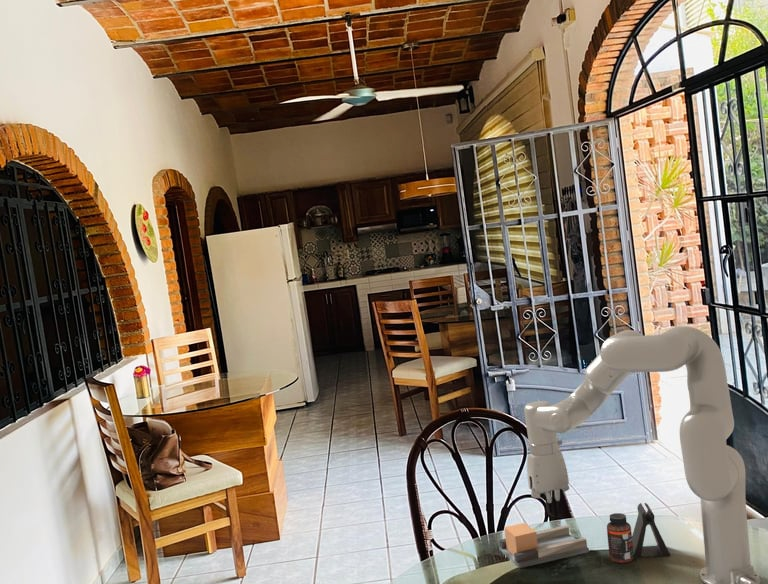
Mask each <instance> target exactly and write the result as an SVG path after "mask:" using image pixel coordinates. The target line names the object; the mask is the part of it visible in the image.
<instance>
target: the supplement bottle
mask: <svg viewBox="0 0 768 584" xmlns="http://www.w3.org/2000/svg"><path fill="white" fill-rule="evenodd" d="M606 534H607V545H608V546H607V547H608V555H609V559H610V560H611V561H613V562H614V563H618V564H627V563H630V562H632V561H633V560H634V559H635V558H634V556H633V555H634V554H633V543H632V535H633V532H632V527H631V524H630V523H629V522H627V515H626V514H624V513H618V512H615V513H611V514H609V522H608V523H607V524H606Z"/></svg>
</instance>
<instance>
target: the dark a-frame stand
mask: <svg viewBox="0 0 768 584" xmlns="http://www.w3.org/2000/svg"><path fill="white" fill-rule="evenodd" d="M644 506H645V508H646V509H647V511H646V509H645V508H644ZM647 526H649V527H650V530H651V532H652V535H653V537H654V539H655V543H656V545H647V546H644V540H645V536H646V530H647ZM632 543H633V554H634V555H633V556H634V558H633V559H646V558H647V559H648V558H665V557H667V558H668V557H671V554H670V551H669V549H668V547H667V546H666V544H665V541H664V539H663V536H662V535H661V533H660V531H659V528H658V526H657V525H656V523H655V514H654V512H653V511H652V509H651V507H650V506H649V504H648V503H646V502H644V505H643V504H642V502H641V503H639V504H637V517H636V522H635V525H634V528H633V532H632Z"/></svg>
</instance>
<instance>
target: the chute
mask: <svg viewBox="0 0 768 584" xmlns="http://www.w3.org/2000/svg"><path fill="white" fill-rule="evenodd" d="M536 535H537V545H538V548H535V549H531V550H526V551H522V552H518V553H514V555H513V554H512V553H511V552H510V551H508V550H507V548H506V538H503V539H502V538H501V539H499V545H498V549H499V551H500V552H502V553H503V555H505V556H506V558H508V559H509V560H510V561H511V562H512V563H513V564H514V565H515V566H516V567H517V568H518V569H522V568H526V567H530V566H531V567H532V566H534V565H535V566H536V565H539V564H543V563H547V562H551V561H552V562H553V561H556V560H560V559H564V558H569V557H573V556H578V555H581V554H586V553H589V552H590V549H589V547H588V543H587V538H585V537H579V538H575V537H574V536H572V535H571V533H570V527H569V526H568V525H566V524H565V525H561V526H556V527H552V528H548V529H547V528H546V529H542V530H539V531H536Z"/></svg>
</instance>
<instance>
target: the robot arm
mask: <svg viewBox="0 0 768 584" xmlns="http://www.w3.org/2000/svg"><path fill="white" fill-rule="evenodd" d="M683 366H685V368H686V372H687V373H686V377H687V379H686V382H687V390H688V397H689V405H690V407H689V408H690V409H689V411H688V412H687V413H686V414H685V415H684V416H683V418H682V420H681V422H680V425H679V441H680V449H681V456H682V462H683V468H684V475H685V480H686V482H687V485H688V487H689V488H690V490H691V491H692V492H693V494H694V495H695V496H697V497H698V498H699V499H700V511H701V514H700V515H701V523H702V533H703V545H704V546H703V547H704V559H705V566H704V567H702V568H701V569H700V571H699V578H700V581H701V580H702V581H703V582H704V583H706V584H761V582H762V579H761V578H760V575H759V573H757V572H756V571H755V570H754V566H753V565H752V561H751V551H750V538H749V528H748V518H747V517H748V516H747V515H748V514H747V502H746V477H747V476H746V467H745V462H744V460H743V457H742V456H741V454H740V453H739V452H738V451H737V450H736V449H735V448H733V447H732V446H730V445H727V439H728V438H729V437H730V436H731V434H732V433H733V431H734V427H735V419H734V415H733V414H734V413H733V408H732V401H731V396H730V394H731V393H730V389H729V384H728V378H727V371H726V365H725V361H724V357H723V353H722V352H721V349H720V347H719V345H718V344H717V342H716V341H715V340H714V339H713V338H712V337H711V336H710V335H709V334H707V333H706V332H704V331H703V330H700V329H698V328H695V327H692V326H686V325H682V326H681V325H680V326H675V327H672V328H670V329H668V330H665V331H664V332H662V333H661V334H654V335H653V334H652V335H644V334H642V333H640V332H639V331H636V330H635V329H634V330H632V329H626V330H622V331H619V332H617V333H616V334H614V335H611V336H609V337H608V338H606V339H605V340H604V342H603V343H602V345H601V347H600V350H599V354H598V355H597V356H596V357H595V358H594V359H593V360H592V361H591V362H590V364H589V365H588V366H587V367H586V368H585V371H584V374H585V377H584V380H583V381H582V382H581V383H580V385H578V386H577V388H576V389H575V390H574V391H573V392H572V393H571V394H570V395H569V396H568V397H566V398H565V399H563V400H561V401H559V402H557V403H555V404H551V402H549V401H545V400H538V401H537V400H536V401H531V402H528V403H526V405H525V406H524V408H523V410H524V411H523V412H524V419H525V426H526V432H527V439H528V445H529V453H528V454H527V457H526V473H527V474H526V475H527V484H528V488H529V490H531V491H530V492H531V493H530V494H531V497H532V498H534V499H542V500H543V501H544V502H545V508H546V512H547V514H548V515H549V516H551V518H556V517H560V510H561V509H560V504H559V502H560V500H561V496H562V494H563V493H565V492H567V491H569V490H570V486H569V484H570V481H569V475H568V469H567V465H566V461H565V458H564V456H563V453H562V451H561V450H560V446H562V445H563V441H562V440H561V439H558V434H567V433H569V432H571V431H572V430H574V429H575V428H577V427H578V426H581V424H583V423H585V422H586V421H588V420H589V418H591V416H592V415H593V414H594V413H595V412H596V411H597V410H598V409H599V408H600V407H601V406H602V405H603V404H604V402H605V401H607V399H608V398H609V396H611V395H612V394H613V392H614V391H615V390H616V389H617V388H618V387H619V386H620V384H622V383H623V381H624V380H625V379H626V378H627V377H628V376H629V375H630V374H631V373H659V372H660V373H665V372H666V373H667V372H672V371H675V370H678V369H680V368H682V367H683ZM702 581H701V582H702ZM703 582H702V583H703ZM704 583H703V584H704Z"/></svg>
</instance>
